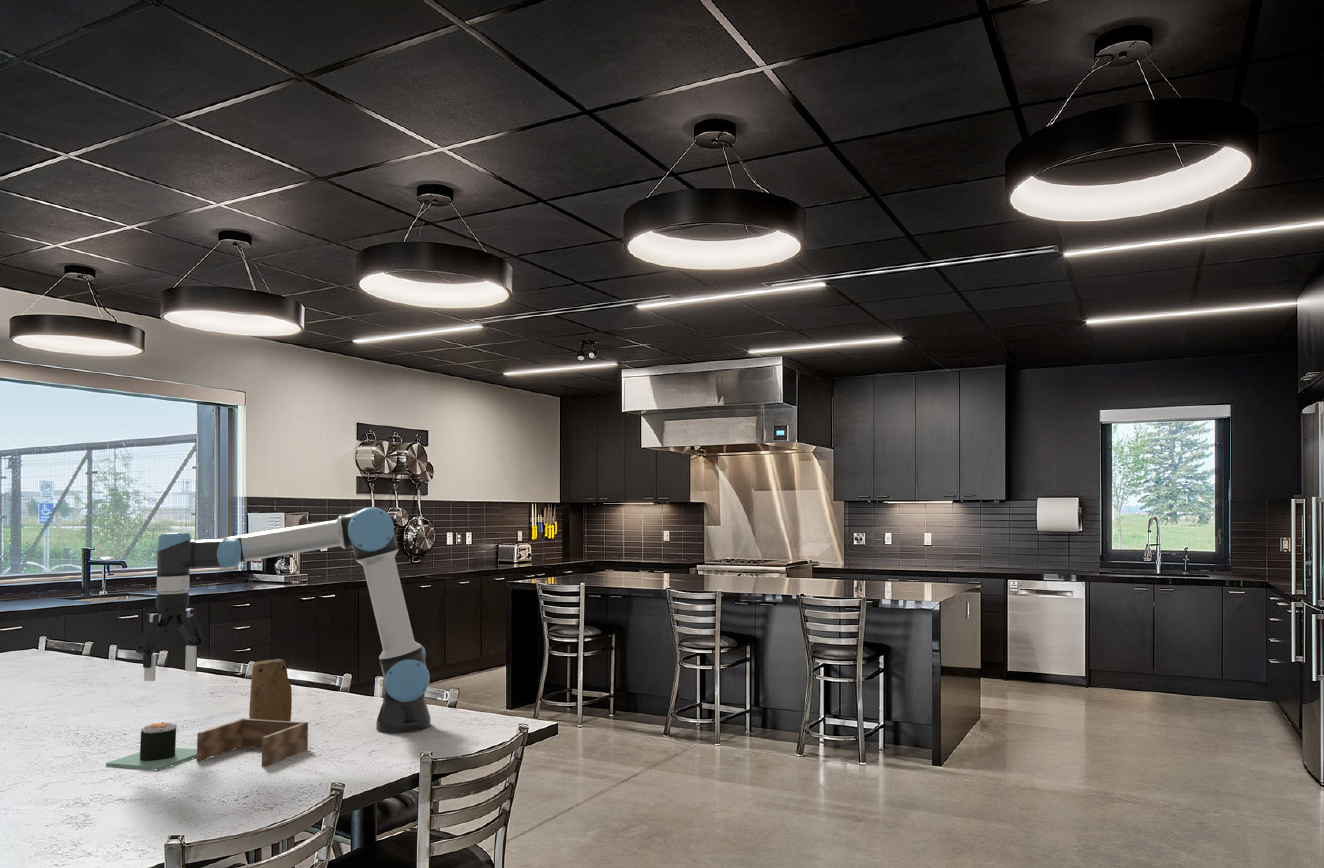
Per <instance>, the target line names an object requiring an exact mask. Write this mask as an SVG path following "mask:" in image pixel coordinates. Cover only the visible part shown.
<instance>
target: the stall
mask: <svg viewBox="0 0 1324 868" xmlns="http://www.w3.org/2000/svg"><path fill="white" fill-rule="evenodd" d="M196 738H197V740H196V742H197V743H196V749H197V757H196V762H199V761H201V762H204V761H206V760H208V759H207V758H209V757H211V756H215V757H217V756H220V755H222V754H221V753H223V752H226V753H228V752H231V751H233V750H232V749H234V748H237V749H239V747H240V748H242V747H244V746H246V747H245V748H258V747H260V749H261V767H268V766H270V765H273V764H275V763H276V764H277V763H279V762H280V761H283V760H286V759H288V758H290V757H289V756H291V757H292V756H294V755H297V753H298V754H300V753H303V752H305V751H308V744H309V742H308V740H309V739H308V738H309V722H305V721H276V720H260V719H249V718H240V719H237V720H234V721H229V722H227V723H225V724H221V725H218V726H215V727H212V728H208V729H206V730H201V731H199V732H197V737H196ZM230 750H231V751H230ZM234 750H235V749H234ZM227 751H228V752H227ZM299 752H300V753H299ZM219 754H220V755H219ZM223 754H224V753H223ZM216 755H217V756H216ZM287 757H288V758H287ZM285 758H286V759H285ZM205 759H206V760H205ZM209 759H210V758H209ZM203 760H204V761H203Z"/></svg>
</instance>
